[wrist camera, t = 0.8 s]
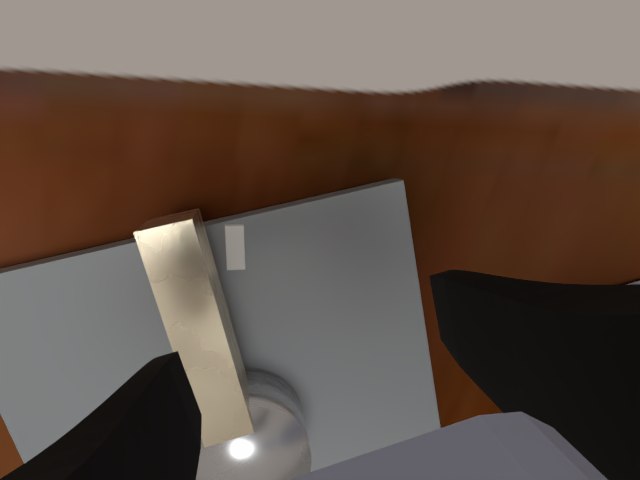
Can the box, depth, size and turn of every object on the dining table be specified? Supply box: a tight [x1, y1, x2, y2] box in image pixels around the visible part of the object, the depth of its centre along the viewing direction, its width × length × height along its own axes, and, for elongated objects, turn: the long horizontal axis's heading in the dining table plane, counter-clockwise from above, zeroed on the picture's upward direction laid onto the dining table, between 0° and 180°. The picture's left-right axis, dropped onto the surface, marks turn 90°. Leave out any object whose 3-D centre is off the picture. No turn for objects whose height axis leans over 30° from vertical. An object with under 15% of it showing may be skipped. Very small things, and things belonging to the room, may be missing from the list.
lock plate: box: [0, 178, 440, 472], centre depth 21 cm, size 20×20×2 cm
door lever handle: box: [133, 208, 312, 480], centre depth 18 cm, size 14×6×4 cm, turn 12°
